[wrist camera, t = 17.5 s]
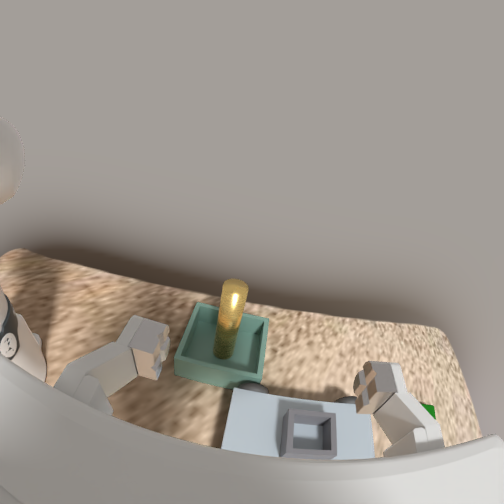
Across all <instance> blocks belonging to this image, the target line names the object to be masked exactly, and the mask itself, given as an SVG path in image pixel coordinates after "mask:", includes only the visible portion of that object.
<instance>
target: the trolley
mask: <svg viewBox="0 0 504 504" xmlns="http://www.w3.org/2000/svg"><path fill="white" fill-rule="evenodd" d="M356 399H357V397H355V396H349V397H343V398H340V399H338V400H336V401H335V402H334V403H333V402H323V401H313V400H305V399H297V398H290V397H283V396H277V395H271V394H269V391H268V389H267V388H266V387H264V386H262V385H260V384H256V383H243V384H240V385H239V386H238V387H237V388H234V389H233V393H232V397H231V402H230V407H229V412H228V417H227V421H226V426H225V431H224V436H223V440H222V445H221V449H225V450H230V451H236V452H242V453H248V454H255V455H263V456H272V457H282V458H295V459H316V460H348V459H368V458H375V454H374V443H373V433H372V424H371V416H370V414H357V413H356V405H355V400H356Z"/></svg>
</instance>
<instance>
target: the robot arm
mask: <svg viewBox="0 0 504 504" xmlns="http://www.w3.org/2000/svg"><path fill="white" fill-rule="evenodd" d="M24 164H25V153H24V146H23V143H22V139H21V137H20V135H19V133H18V131H17V130H16V128H15V127H14V126H13V125H12V124H11V123H10V122H9V121H7V120H5V119H4V118H2V117H1V116H0V205H1V204H2V203H4V202H6V201H7V200H9V199H10V198H12V197H13V196H14V195H15V193H16V191H17V189H18V187H19V185H20V182H21V179H22V176H23V171H24ZM169 332H170V330H169V325H166V324H163V323H159V322H156V321H153V320H150V319H147V318H143V317H140V316H137V315H133V316H132V317H131V318H130V320H129V321H128V323H127V325H126V326H125V328H124V329H123V331H122V333H121V334H120V336H119V338H118V339H117V341H116V343H115V342H111V343H109V344H107V345H105V346H103V347H101V348H99V349H97V350H95V351H93V352H91V353H89V354H87V355H85V356H83V357H81V358H79V359H77V360H75V361H73V362H71V363H69V364H67V366H66V368H65V369H64V371H63V372H62V374H61V376H60V377H59V379H58V380H57V382H56V384H55V385H54V387H52V386H50V385H48V384H47V383H45V378H46V362H45V359H44V356H43V354H42V351H41V346H42V341H41V338H40V336H39V335H38V334H35V333H32V332H31V331H30V329H29V327H28V325H27V324H26V322H25V320H24V318H23V317H22V315H21V314H17V313H15V311H14V308H13V306H12V304H11V303H10V301H9V299H8V297H7V296H6V295H5V294H4V292H3V290H2V287H1V285H0V504H504V441H503V440H502V439H501V438H500V437H499V436H498V435H496V434H491V435H488V436H485V437H482V438H478V439H475V440H472V441H468V442H465V443H461V444H457V445H453V446H449V447H445V446H444V441H443V437H442V432H441V428H440V424H439V423H438V422H437V421H436V420H435V419H434V418H433V417H432V416H431V415H430V414H429V412H428V411H427V410H426V409H425V408H424V407H423V406H422V405H421V404H420V403H419V402H418V401H417V399H416V398H415V397H414V396H413V395H412V394H411V393H408V392H407V388H406V385H405V381H404V377H403V374H402V370H401V367H400V365H399V364H398V363H388V362H376V361H368V362H366V363H365V364H364V366H363V369H364V370H362V371H360V372H358V374H357V375H356V377H355V380H354V385H353V389H354V393H355V394H356V395H357V399H356V400H355V405H356V413H357V414H374V415H373V416H374V417H375V419H376V420H377V422H378V423H379V425H380V427H381V428H382V430H383V431H384V433H385V434H386V436H387V437H388V439H389V440H390V442H391V443H392V446H390V447H389V448H388V449H386V450H385V451H384V452H383V455H384V457H381V458H368V459H348V460H316V459H295V458H282V457H272V456H263V455H255V454H248V453H242V452H236V451H230V450H225V449H220V448H215V447H210V446H206V445H201V444H197V443H193V442H189V441H185V440H181V439H178V438H174V437H171V436H167V435H164V434H161V433H158V432H155V431H151V430H148V429H145V428H143V427H140V426H137V425H134V424H131V423H129V422H126V421H124V420H121V419H118V418H116V417H114V416H112V413H113V409H112V406H111V405H110V403H109V401H108V399H107V398H108V397H109V396H111V395H112V394H113V393H115V392H116V391H118V390H119V389H121V388H122V387H123V386H125V385H126V384H128V383H129V382H130V381H132V380H133V379H134V378H136V377H137V376H138V375H139V376H142V377H146V378H149V379H153V380H156V381H157V380H158V377H159V375H160V372H161V370H162V362H163V361H165V360H166V358H167V355H168V352H169V348H170V338H169V337H168V334H169Z"/></svg>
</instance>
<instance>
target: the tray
mask: <svg viewBox="0 0 504 504" xmlns="http://www.w3.org/2000/svg"><path fill="white" fill-rule="evenodd" d="M218 314H219V307H216V306H212V305H208V304H204V303H200V302H197V303H196V306H195V308H194V311H193V313H192V315H191V318H190V320H189V322H188V325H187V327H186V330H185V332H184V334H183V337H182V339H181V342H180V344H179V347H178V349H177V352H176V354H175V356H174V373H175V375H177V376H180V377H184V378H187V379H191V380H195V381H198V382H202V383H206V384H210V385H214V386H218V387H223V388H227V389H232V390H233V389H234V388H237V387H238V386H239V385H240V384H243V383H256V384H260V382H261V380H262V373H263V366H264V358H265V349H266V341H267V333H268V324H269V319H268V318H264V317H259V316H255V315H250V314H246V313H243V314H242V319H241V323H240V327H239V331H238V335H237V340H236V344H235V348H234V352H233V355H232V357H231V358H229V359H225V360H223V359H219V358H217V357H216V356H215V355H214V353H213V346H214V340H215V333H216V326H217V320H218Z"/></svg>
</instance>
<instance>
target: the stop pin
mask: <svg viewBox="0 0 504 504" xmlns="http://www.w3.org/2000/svg"><path fill="white" fill-rule="evenodd" d="M247 293H248V285H247V284H246V283H245V282H243V281H241V280H239V279H228V280H226V281H225V282H224V284H223V288H222V295H221V301H220V307H219V314H218V320H217V326H216V333H215V340H214V346H213V353H214V355H215V356H216V357H217V358H219V359H223V360H225V359H229V358H231V357H232V355H233V352H234V348H235V344H236V340H237V335H238V331H239V327H240V323H241V319H242V314H243V310H244V306H245V302H246V297H247Z"/></svg>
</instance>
